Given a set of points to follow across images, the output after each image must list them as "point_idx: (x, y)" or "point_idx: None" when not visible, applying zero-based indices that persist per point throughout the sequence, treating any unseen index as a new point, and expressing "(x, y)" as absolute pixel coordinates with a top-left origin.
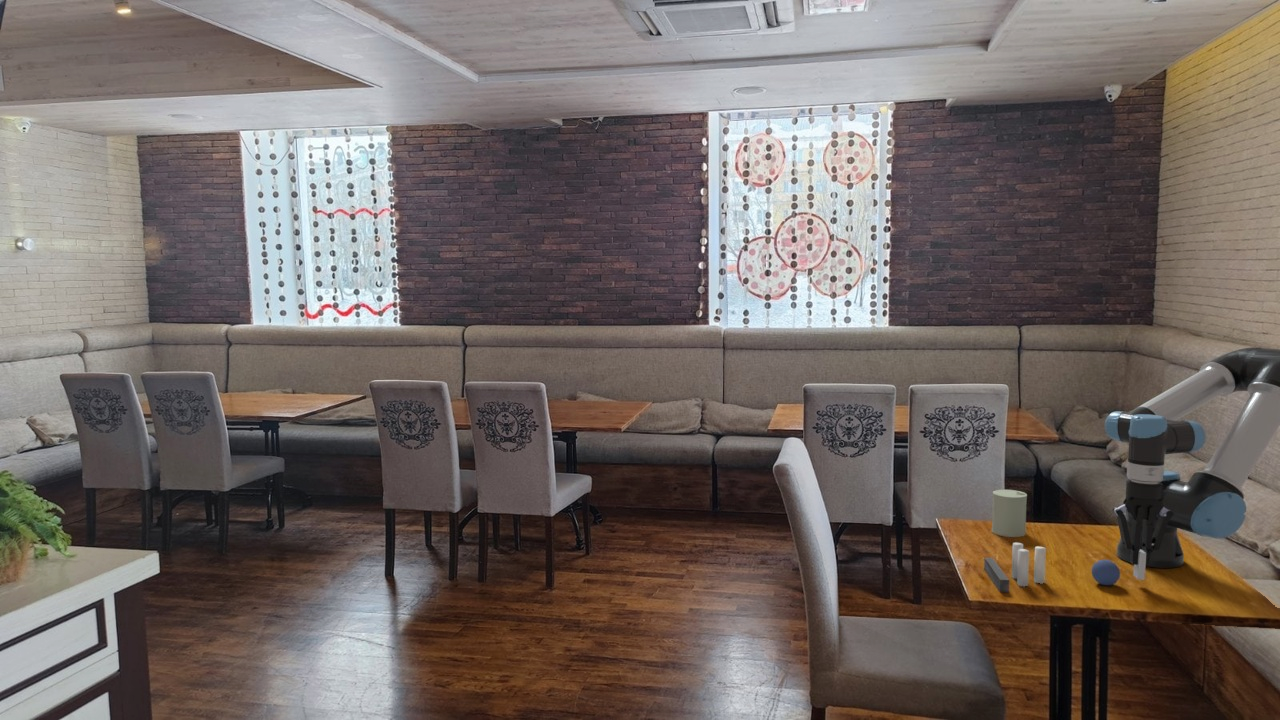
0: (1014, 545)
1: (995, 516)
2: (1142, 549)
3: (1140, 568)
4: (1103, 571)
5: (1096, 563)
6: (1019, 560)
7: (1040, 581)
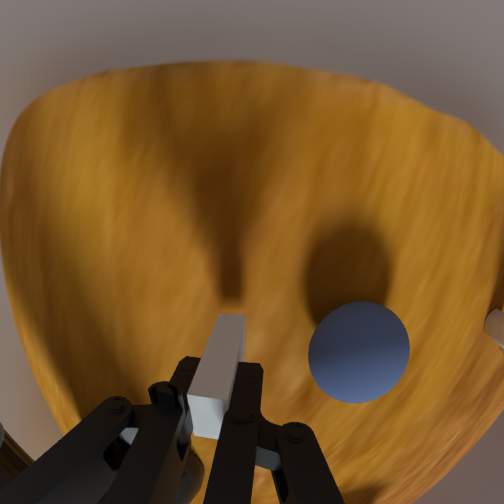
0: None
1: None
2: (192, 430)
3: (231, 341)
4: (398, 325)
5: (402, 374)
6: None
7: (500, 311)
